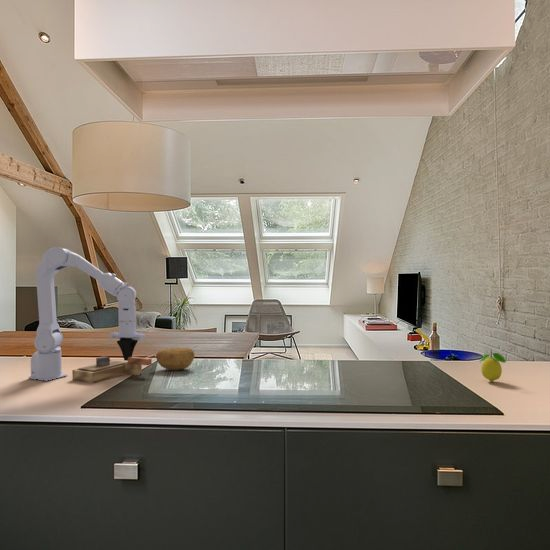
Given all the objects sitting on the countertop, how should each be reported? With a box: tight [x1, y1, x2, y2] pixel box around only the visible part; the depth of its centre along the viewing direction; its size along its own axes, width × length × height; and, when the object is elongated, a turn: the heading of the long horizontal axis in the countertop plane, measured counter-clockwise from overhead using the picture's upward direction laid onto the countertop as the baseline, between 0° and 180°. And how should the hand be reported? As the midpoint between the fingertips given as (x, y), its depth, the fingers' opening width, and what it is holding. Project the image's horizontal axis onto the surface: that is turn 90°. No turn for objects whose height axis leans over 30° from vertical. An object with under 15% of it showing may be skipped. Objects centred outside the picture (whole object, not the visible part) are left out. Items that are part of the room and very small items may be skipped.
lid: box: [78, 355, 127, 372], centre depth 140 cm, size 7×13×3 cm, turn 154°
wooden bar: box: [127, 356, 152, 366], centre depth 141 cm, size 9×2×2 cm, turn 64°
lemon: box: [479, 349, 507, 383], centre depth 126 cm, size 7×6×10 cm
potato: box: [155, 346, 196, 371], centre depth 148 cm, size 10×14×8 cm
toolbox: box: [71, 359, 143, 384], centre depth 139 cm, size 16×16×4 cm
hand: (127, 359), depth 143 cm, fingers closed
